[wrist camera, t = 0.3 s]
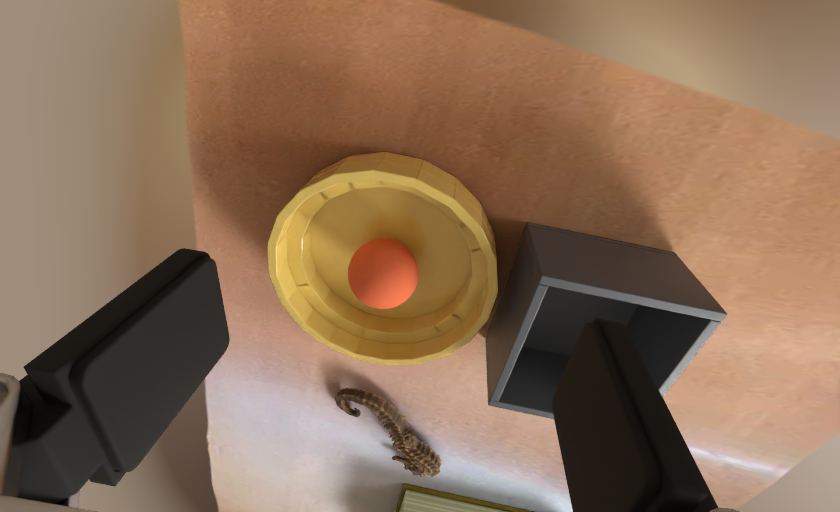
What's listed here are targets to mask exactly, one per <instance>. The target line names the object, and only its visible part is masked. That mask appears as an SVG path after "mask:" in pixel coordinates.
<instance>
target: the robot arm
mask: <svg viewBox="0 0 840 512" xmlns="http://www.w3.org/2000/svg"><path fill="white" fill-rule="evenodd" d="M228 344H229V332H228V327H227V321H226V316H225V310H224V305H223V299H222V294H221V289H220V283H219V278H218V272H217V267H216V263H215V261H214V260H213V259H211V258H210V256H209V254H208V253H206V252H202V251H197V250H190V249H180V250H178V251H176V252H175V253H174V254H172V255H171V256H170V257H168V258H167V259H166V260H164V261H163V262H162V263H160V264H159V265H158V266H156V267H155V268H154V269H152V270H151V271H150V272H149V273H147V274H146V275H144V276H143V277H142V278H141V279H139V280H138V281H137V282H135V283H134V284H133V285H131V286H130V287H129V288H127V289H126V290H125V291H123V292H122V293H121V294H119V295H118V296H117V297H115V298H114V299H113V300H111V301H110V302H109V303H107V304H106V305H105V306H104V307H102V308H101V309H100V310H98V311H97V312H96V313H94V314H93V315H92V316H90V317H89V318H88V319H86V320H85V321H84V322H82V323H81V324H80V325H78V326H77V327H76V328H74V329H73V330H72V331H71V332H69V333H68V334H67V335H65V336H64V337H62V338H61V339H60V340H58V341H57V342H56V343H55V344H53V345H52V346H51V347H49V348H48V349H47V350H45V351H44V352H43V353H41V354H40V355H39V356H37V357H36V358H35V359H33V360H32V361H31V362H29V363H28V364H27V365H25V366H24V369H25V370H26V372H27V374H28V375H27V376H26V377H24V378H23V379H21V380H20V381H18V380H17V379H16V378H15V377H14V376H11V375H7V374H4V373H0V512H96V511H90V510H85V509H79V508H78V507H79V491H80V489H81V488H82V486H83V485H84V484H85V483H86V482H87V481H88V479H90V481H91V482H95V483H100V484H106V485H110V486H116V485H117V483H118V482H119V481H120V480H121V478H122V477H123V476H124V474H125V473H126V472H130V471H132V470H133V469H135V468H136V467H137V466H138V465H139V464H140V462H141V461H142V460H143V458H144V457H145V456H146V454H147V453H148V452H149V450H150V449H151V448H152V446H153V445H154V444H155V443H156V441H157V440H158V439H159V437H160V436H161V435H162V433H163V432H164V431H165V429H166V428H167V427H168V426H169V424H170V423H171V422H172V420H173V419H174V418H175V417H176V415H177V414H178V413H179V411H180V410H181V409H182V407H183V406H184V405H185V403H186V402H187V401H188V400H189V398H190V397H191V396H192V394H193V393H194V392H195V390H196V389H197V388H198V386H199V385H200V384H201V383H202V381H203V380H204V379H205V377H206V376H207V375H208V373H209V372H210V371H211V370H212V368H213V367H214V366H215V364H216V363H217V362H218V360H219V359H220V358H221V356H222V355H223V354H224V353H225V351H226V349H227V347H228ZM552 410H553V415H554V420H555V425H556V430H557V435H558V440H559V445H560V449H561V454H562V459H563V464H564V469H565V474H566V479H567V484H568V489H569V494H570V499H571V504H572V509H573V512H739V511H736V510H733V509H728V508H718V506H717V504H716V502H715V500H714V498H713V496H712V494H711V492H710V490H709V488H708V486H707V484H706V482H705V480H704V479H703V477H702V475H701V473H700V471H699V469H698V467H697V465H696V463H695V461H694V459H693V457H692V455H691V453H690V451H689V449H688V447H687V445H686V443H685V441H684V439H683V437H682V435H681V433H680V431H679V429H678V427H677V425H676V423H675V421H674V419H673V417H672V415H671V413H670V411H669V409H668V407H667V405H666V403H665V401H664V399H663V397H662V395H661V393H660V392H659V390H658V389H657V387H656V386H655V385H654V383H653V381H652V379H651V377H650V375H649V373H648V371H647V369H646V367H645V365H644V363H643V361H642V359H641V357H640V355H639V353H638V351H637V349H636V347H635V345H634V343H633V341H632V339H631V337H630V335H629V333H628V331H627V329H626V327H625V325H624V324H623V323H622V322H619V321H613V320H607V319H601V318H596V319H595V320H594V321H593V322H592V323H586V324H585V326H584V328H583V330H582V332H581V334H580V337H579V339H578V341H577V343H576V346H575V348H574V350H573V352H572V355H571V357H570V359H569V361H568V364H567V366H566V368H565V370H564V373H563V375H562V377H561V379H560V382H559V384H558V386H557V388H556V391H555V393H554V396H553V400H552Z"/></svg>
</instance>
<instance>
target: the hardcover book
mask: <svg viewBox="0 0 840 512" xmlns="http://www.w3.org/2000/svg"><path fill="white" fill-rule="evenodd" d="M396 512H532V511H527V510H522V509H518V508H513V507H509V506H504V505H499V504H495V503H490V502H486V501H481V500H476V499H472V498H467V497H462V496H458V495H453V494H449V493H444V492H439V491H435V490H430V489H426V488H421V487H416V486H412V485H407V484H404V485H403V488H402V492H401V495H400V498H399V502H398V505H397V509H396Z"/></svg>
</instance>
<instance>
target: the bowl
mask: <svg viewBox="0 0 840 512" xmlns="http://www.w3.org/2000/svg"><path fill="white" fill-rule="evenodd" d="M382 238H383V239H392V240H395V241H398V242H400V243H402V244H403V245H404V246H406V247H407V248H408V249H409V250H410V251H411V253H412V254H413V255H414V257H415V259H416V262H417V265H418V272H419V275H418V282H417V285H416V288H415V290H414V292H413V293H412V295H411V296H410V297H409V298H408V299H407V300H406V301H405V302H404V303H402V304H400V305H399V306H396V307H393V308H389V309H377V308H373V307H370V306H368V305H366V304H364V303H362V302H361V301H360V300H359V299H358V298H357V297H356V296H355V295H354V293H353V292H352V290H351V288H350V285H349V281H348V267H349V263H350V260H351V258H352V256H353V255H354V253H355V252H356V251H357V250H358V249H359V248H360V247H361V246H362V245H364V244H365V243H367V242H369V241H372V240H375V239H382ZM267 249H268V269H269V276H270V278H271V281H272V283H273V285H274V288H275V290H276V293H277V295H278V298H279V300H280V302H281V304H282V305H283V306H284V308H285V309H286V310H287V311H288V313H289V314H290V315H291V316H292V318H293V319H294V320H295V321H296V323H297V324H298V325H299V326H300V327H301V328H302V329H304V330H305V331H306V332H308V333H309V334H310V335H312V336H313V337H314V338H315V339H317V340H318V341H319V342H321V343H322V344H323V345H325V346H327V347H329V348H332V349H334V350H336V351H338V352H340V353H343V354H345V355H347V356H349V357H351V358H354V359H358V360H363V361H368V362H373V363H377V364H382V365H384V364H385V365H415V364H419V363H423V362H427V361H430V360H434V359H438V358H442V357H444V356H446V355H448V354H450V353H452V352H453V351H455V350H457V349H458V348H460V347H462V346H463V345H465V344H467V343H468V342H469V341H471V339H472V338H473V337H474V336H475V335H476V334H477V332H478V331H479V330H480V329H481V328H482V327H483V325H484V324H485V323H486V322H487V321H488V319H489V317H490V314H491V311H492V308H493V305H494V302H495V300H496V297H497V294H498V276H497V259H496V249H495V239H494V233H493V230H492V228H491V226H490V224H489V221H488V219H487V217H486V215H485V212H484V210H483V208H482V206H481V204H480V202H479V201H478V200H477V199H476V198H475V197H474V196H473V195H472V194H471V193H470V192H469V191H468V190H467V189H466V187H465V186H464V185H463V184H462V183H461V182H460V181H459V180H458V179H457V178H456V177H454V176H452V175H450V174H449V173H447V172H445V171H443V170H441V169H440V168H438V167H436V166H434V165H432V164H431V163H429V162H427V161H425V160H422V159H418V158H413V157H408V156H403V155H398V154H393V153H388V152H380V153H371V154H363V155H354V156H349V157H347V158H345V159H343V160H341V161H339V162H337V163H335V164H332V165H330V166H328V167H326V168H324V169H322V170H320V171H319V172H318V173H317V174H316V175H315V176H314V177H313V178H312V179H311V180H310V181H309V182H308V183H307V184H306V185H305V186H304V187H303V188H302V189H301V190H300V191H299V192H298V193H297V194H296V195H295V196H294V197H293V198H292V199H291V200H290V202H289V203H288V204H287V205H286V206H285V207H284V208H283V209H282V210H281V211H280V212H279V214H278V215H277V218H276V220H275V223H274V226H273V229H272V232H271V235H270V237H269V240H268V244H267Z"/></svg>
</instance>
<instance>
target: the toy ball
mask: <svg viewBox="0 0 840 512" xmlns="http://www.w3.org/2000/svg"><path fill="white" fill-rule="evenodd" d="M418 275H419V272H418V265H417V262H416V259H415V257H414V255H413V254H412V253H411V251H410V250H409V249H408V248H407V247H406V246H404V245H403V244H402V243H400V242H398V241H395V240H392V239H383V238H382V239H375V240H372V241H369V242H367V243H365V244H364V245H362V246H361V247H360V248H359V249H358V250H357V251H356V252H355V253H354V255H353V256H352V258H351V260H350V263H349V267H348V281H349V285H350V288H351V290H352V292H353V293H354V295H355V296H356V297H357V298H358V299H359V300H360V301H361V302H362V303H364V304H366V305H368V306H370V307H373V308H377V309H389V308H393V307H396V306H399V305H400V304H402V303H404V302H405V301H406V300H407V299H408V298H409V297H410V296H411V295H412V293H413V292H414V290H415V288H416V285H417V282H418Z"/></svg>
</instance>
